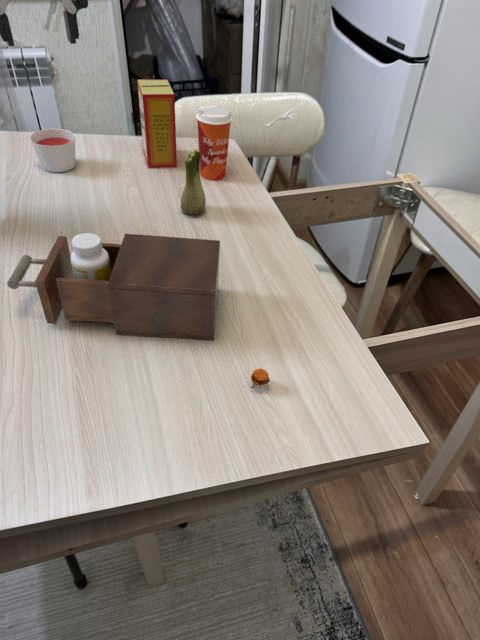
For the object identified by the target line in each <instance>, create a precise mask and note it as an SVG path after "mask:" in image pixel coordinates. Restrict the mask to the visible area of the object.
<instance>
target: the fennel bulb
mask: <svg viewBox="0 0 480 640" xmlns="http://www.w3.org/2000/svg"><path fill="white" fill-rule="evenodd" d="M184 165H185V184H184V187H183V189H182V193H181V197H180V209H181V211H182V212H183V213H184V214H187V215H190V216H194V215H198V214H201V213H202V212H203V211H204V210H205V208H206V201H207V200H206V195H205V194H206V193H205V191H204V188H203V184H202V180H201V171H200V150H199V148H198V149H194V150H193V151H191V152H189V153H188V154H187V158H186V159H184Z"/></svg>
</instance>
